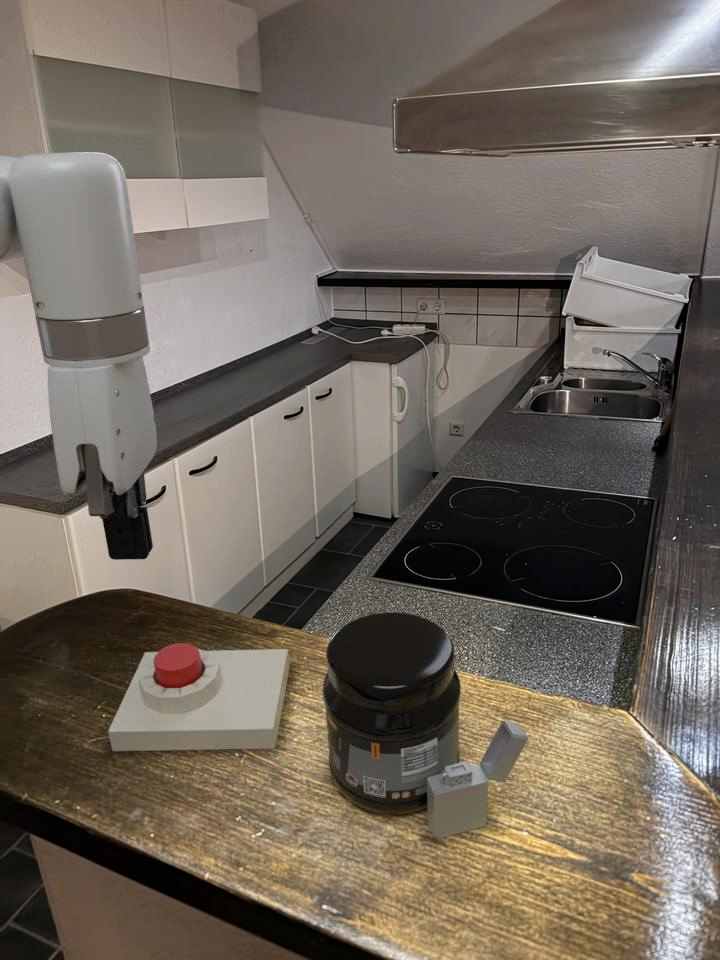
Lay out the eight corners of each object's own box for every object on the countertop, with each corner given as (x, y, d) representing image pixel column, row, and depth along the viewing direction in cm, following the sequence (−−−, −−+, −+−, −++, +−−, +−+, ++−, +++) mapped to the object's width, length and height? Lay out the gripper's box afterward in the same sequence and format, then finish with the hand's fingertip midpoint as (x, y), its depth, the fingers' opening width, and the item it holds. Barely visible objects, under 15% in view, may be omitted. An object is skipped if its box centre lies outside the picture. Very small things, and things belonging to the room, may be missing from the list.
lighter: (435, 839, 55) (434, 754, 52) (426, 821, 57) (425, 737, 54) (524, 815, 57) (529, 731, 54) (514, 798, 58) (518, 715, 55)
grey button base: (112, 751, 65) (103, 714, 63) (148, 670, 75) (141, 636, 73) (275, 749, 64) (271, 711, 63) (289, 667, 74) (286, 633, 73)
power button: (151, 690, 67) (148, 671, 66) (163, 661, 70) (160, 643, 69) (197, 689, 66) (193, 670, 66) (206, 660, 70) (203, 642, 69)
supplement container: (371, 709, 68) (366, 594, 63) (480, 750, 63) (483, 629, 58) (303, 788, 60) (291, 664, 55) (422, 843, 55) (420, 711, 50)
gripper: (81, 315, 63) (115, 515, 70) (-3, 363, 49) (51, 604, 57) (171, 313, 63) (196, 514, 70) (112, 360, 49) (151, 604, 56)
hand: (131, 554), depth 63 cm, fingers closed
